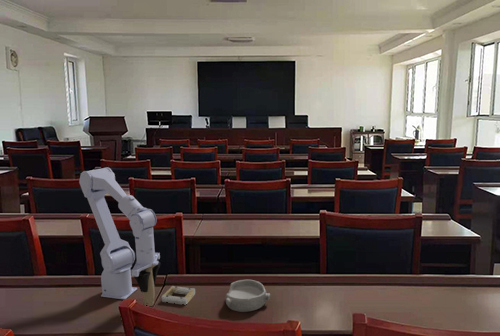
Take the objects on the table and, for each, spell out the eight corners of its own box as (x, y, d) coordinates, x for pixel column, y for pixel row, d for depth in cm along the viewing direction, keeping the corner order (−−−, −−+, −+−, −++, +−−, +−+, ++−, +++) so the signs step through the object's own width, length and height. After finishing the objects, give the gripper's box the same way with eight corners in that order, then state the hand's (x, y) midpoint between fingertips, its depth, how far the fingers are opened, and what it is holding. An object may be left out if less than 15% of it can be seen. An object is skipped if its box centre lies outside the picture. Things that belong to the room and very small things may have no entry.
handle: (155, 309, 131) (152, 265, 128) (136, 308, 132) (133, 264, 129) (161, 301, 135) (158, 258, 133) (142, 300, 136) (139, 258, 134)
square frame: (162, 301, 135) (161, 295, 135) (172, 291, 143) (172, 285, 142) (186, 305, 133) (185, 298, 133) (195, 293, 140) (195, 288, 140)
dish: (227, 316, 126) (226, 301, 125) (222, 294, 140) (222, 281, 139) (273, 311, 128) (272, 296, 128) (264, 290, 142) (264, 277, 141)
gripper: (144, 258, 122) (147, 300, 125) (167, 241, 136) (169, 279, 138) (123, 256, 124) (127, 297, 126) (148, 239, 138) (150, 277, 140)
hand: (148, 288), depth 133 cm, fingers closed on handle, 4 cm apart
